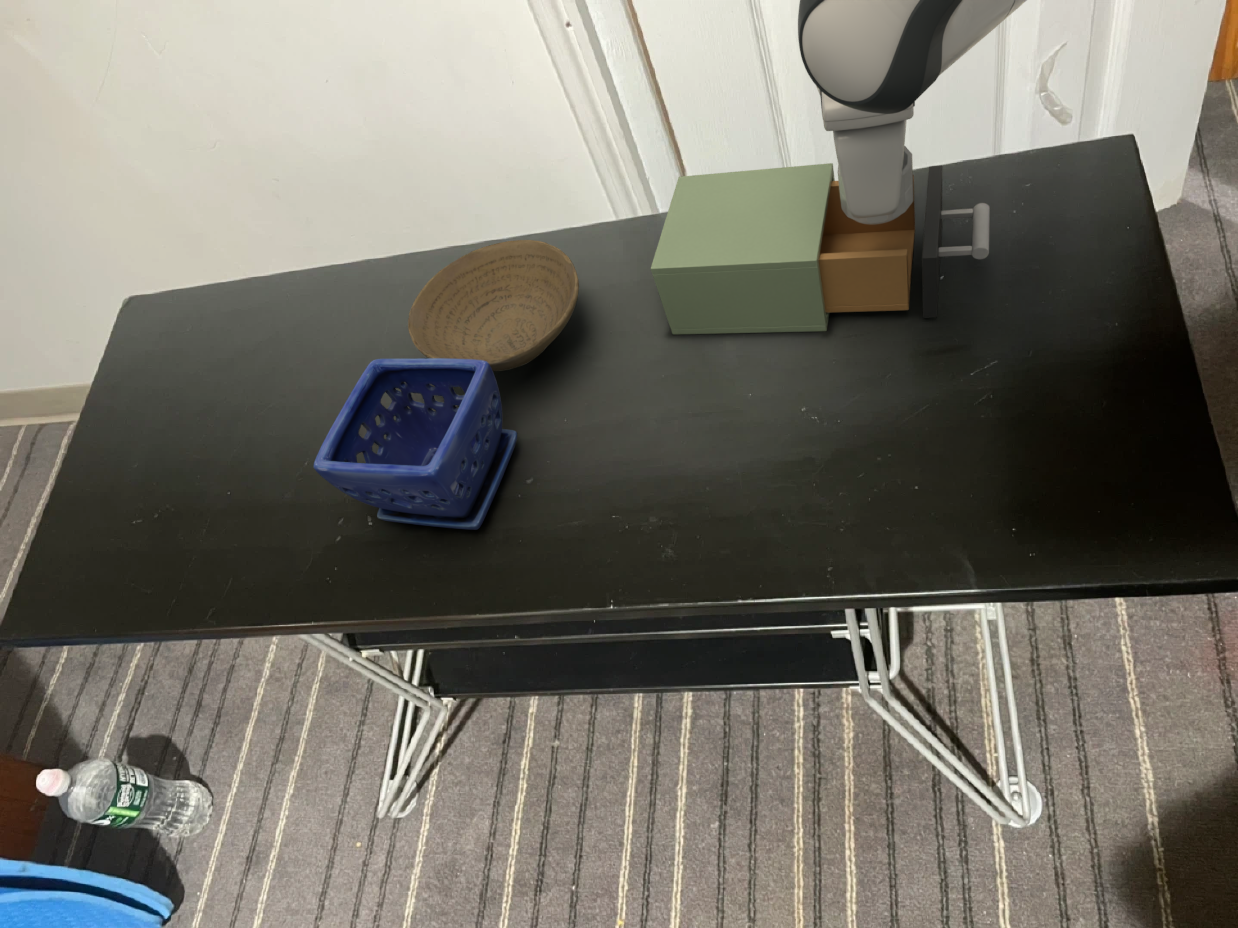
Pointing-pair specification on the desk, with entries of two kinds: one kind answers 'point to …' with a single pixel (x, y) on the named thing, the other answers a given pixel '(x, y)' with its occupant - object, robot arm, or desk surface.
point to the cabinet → (745, 251)
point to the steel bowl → (905, 193)
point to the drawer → (890, 253)
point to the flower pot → (421, 442)
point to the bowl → (496, 304)
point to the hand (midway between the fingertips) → (876, 189)
